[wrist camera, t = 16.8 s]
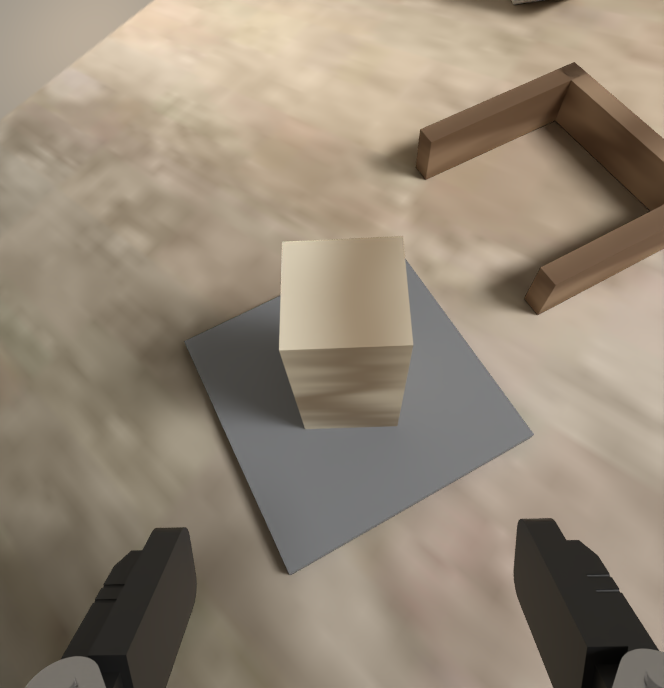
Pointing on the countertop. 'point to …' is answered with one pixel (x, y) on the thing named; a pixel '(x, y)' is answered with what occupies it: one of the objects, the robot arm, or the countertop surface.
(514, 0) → the die
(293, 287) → the ash block
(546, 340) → the countertop surface
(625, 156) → the stall
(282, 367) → the pad
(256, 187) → the countertop surface
